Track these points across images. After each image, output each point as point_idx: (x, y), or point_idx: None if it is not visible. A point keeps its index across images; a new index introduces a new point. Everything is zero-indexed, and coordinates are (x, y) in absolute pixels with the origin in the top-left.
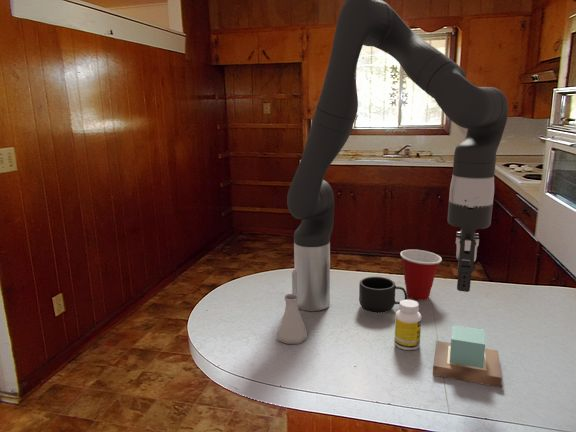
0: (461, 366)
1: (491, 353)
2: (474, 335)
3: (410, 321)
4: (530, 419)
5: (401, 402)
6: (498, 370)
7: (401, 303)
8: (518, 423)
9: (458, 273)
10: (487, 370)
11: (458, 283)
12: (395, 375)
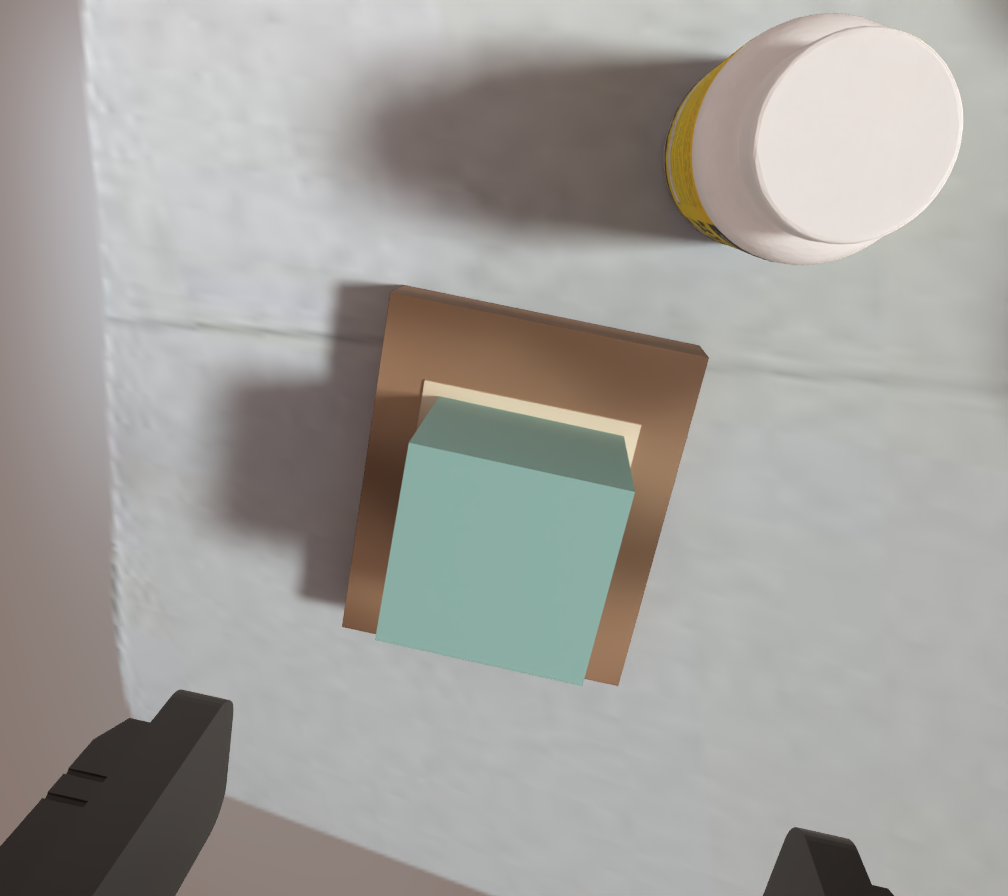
0: None
1: None
2: (488, 605)
3: (693, 155)
4: (153, 645)
5: (106, 76)
6: None
7: (850, 46)
8: (113, 594)
9: (30, 874)
10: None
11: (129, 755)
12: (356, 51)
